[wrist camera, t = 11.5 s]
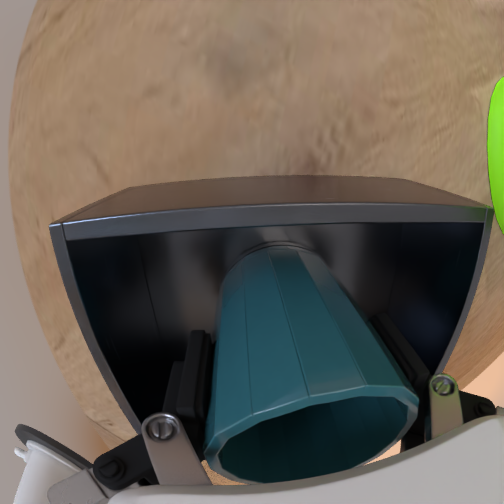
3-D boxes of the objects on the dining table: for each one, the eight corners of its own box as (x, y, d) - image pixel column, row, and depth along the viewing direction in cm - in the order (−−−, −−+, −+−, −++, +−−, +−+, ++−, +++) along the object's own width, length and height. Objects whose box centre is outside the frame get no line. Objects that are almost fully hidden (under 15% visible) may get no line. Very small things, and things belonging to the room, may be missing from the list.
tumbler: (223, 351, 16) (220, 490, 7) (212, 248, 13) (181, 402, 5) (330, 341, 16) (381, 465, 7) (342, 241, 13) (451, 359, 5)
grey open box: (170, 374, 18) (153, 455, 11) (127, 187, 13) (47, 224, 6) (372, 357, 18) (409, 426, 12) (404, 179, 13) (494, 208, 7)
